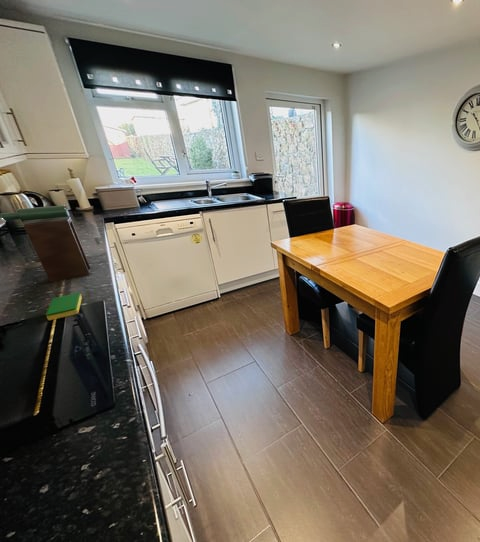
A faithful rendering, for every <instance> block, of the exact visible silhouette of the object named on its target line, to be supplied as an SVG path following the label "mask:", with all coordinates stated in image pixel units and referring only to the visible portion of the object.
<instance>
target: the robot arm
mask: <svg viewBox="0 0 480 542" xmlns="http://www.w3.org/2000/svg"><path fill="white" fill-rule="evenodd" d="M6 222H7V220H5V219H4V218H0V228H2V227H3V226H4V225H6Z"/></svg>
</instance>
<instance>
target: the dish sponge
mask: <svg viewBox="0 0 480 542" xmlns="http://www.w3.org/2000/svg"><path fill="white" fill-rule="evenodd" d="M82 299H83V297H82V294H81V292H77V293H76V292H75V293H72V294H71V293H70V294H67V295H62V296H57V297H53V298H52V299H51V301H50V303H49V306H48V308H47V311H46V313H45V316H46V319H47V321H52V320H57V319H61V318H65V317H71V316H74V315H78V314H79V313H80V312H79V311H80V309H81V304H82Z"/></svg>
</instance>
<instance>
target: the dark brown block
mask: <svg viewBox="0 0 480 542" xmlns="http://www.w3.org/2000/svg"><path fill="white" fill-rule="evenodd" d="M22 223H23V228H24V230H25V232H26V234H27V236H28V237H29V240H30V243H31V245H32V247H33V249H34V251H35V253H36V256H37V257H38V259H39V262H40V264H41V266H42V268H43V270H44V272H45V274H46V275H47V279H48V281H49V283H53V282H59V281H63V280H70V279H74V278H81V277H85V276H90V274H91V273H90V271H89V270H90V269H92V268H91V264H90V263H89V260H88V257H87V255H86V252H85V250H84V247H83V245H82V243H81V240H80V237H79V234H78V232H77V230H76V227H75V225H74V222H73V220H72V217H71V216H70V218H68V217H58V218H47V219H36V220H25V221H23V222H22Z"/></svg>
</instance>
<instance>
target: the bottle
mask: <svg viewBox="0 0 480 542" xmlns="http://www.w3.org/2000/svg"><path fill="white" fill-rule="evenodd" d="M58 217H68V218H70V217H71V216H70V212H69V210H68V208H67V206H66V205H51V206H50V205H49V206H40V207H39V206H38V207H37V206H36V207H24V208H17V209H16V212H5V213H2V212H1V213H0V218H4V219H5V220H6V221H15V220H17V221H18V220H20V221H21V223H24V222H23V221H25V220H36V219H47V218H58Z"/></svg>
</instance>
